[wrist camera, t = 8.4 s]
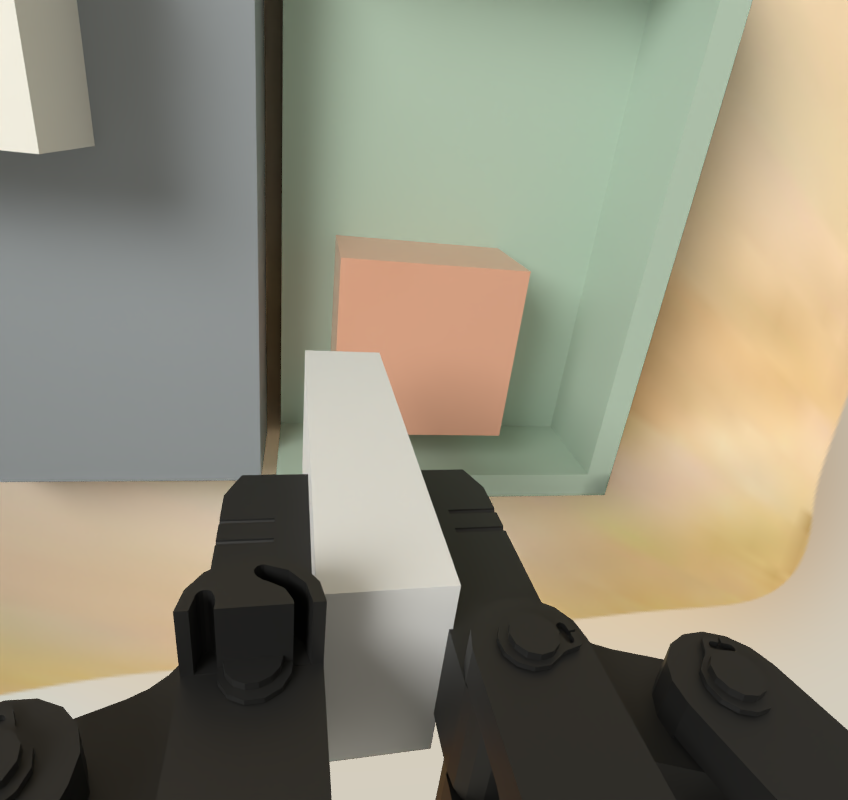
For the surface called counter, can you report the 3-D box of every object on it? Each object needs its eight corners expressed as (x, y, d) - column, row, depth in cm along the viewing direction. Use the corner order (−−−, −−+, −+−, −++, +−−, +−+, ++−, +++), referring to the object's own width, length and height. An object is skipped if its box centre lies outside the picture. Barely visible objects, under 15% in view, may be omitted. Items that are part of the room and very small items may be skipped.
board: (-26, 428, 18) (-83, 482, 15) (-208, -279, 11) (-366, -398, 9) (266, 431, 20) (260, 479, 17) (263, -172, 13) (251, -244, 11)
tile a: (329, 389, 19) (332, 434, 16) (335, 234, 17) (340, 257, 14) (473, 392, 20) (499, 435, 17) (497, 248, 18) (531, 271, 15)
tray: (281, 431, 20) (275, 499, 17) (285, -168, 13) (277, -268, 10) (557, 434, 22) (604, 494, 19) (682, -79, 15) (792, -135, 12)
